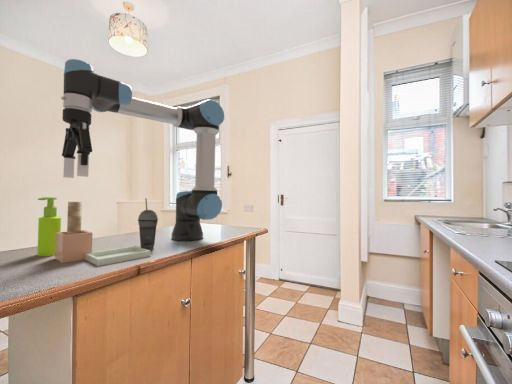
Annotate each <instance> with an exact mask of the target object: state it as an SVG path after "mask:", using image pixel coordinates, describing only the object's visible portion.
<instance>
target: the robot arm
mask: <svg viewBox="0 0 512 384" xmlns="http://www.w3.org/2000/svg"><path fill="white" fill-rule="evenodd" d="M60 99H61V100H62V101H63V102H62V107H63V110H62V118H61V119H62V121H63V122H65V123H66V124H69V127H66V128H65V136H64V140H63V141H64V142H63V147H62V153H61V156H62V157H63V178H71V179H74V178H75V159H76V156H75V153H76V155H77V159H76V160H77V163H76V164H77V166H76V176H77V177H87V178H89V165H90V164H89V163H90V154H91V153H92V152H93V146H92V140H91V134H90V126H91V124H92V114H91V113H92V112H93V111H95V112H97V113H106V112H110V113H116V114H121V115H126V116H131V117H136V118H140V119H145V120H151V121H155V122H156V121H157V122H159V123H164V124H165V123H167V124H171V125H172V126H173V127H175V128H179V129H184V130H189V131H194V133H195V134H196V146H195V147H196V148H195V149H196V150H195V153H196V154H195V181H194V182H195V184H194V187H193V188H192V189H191V190H183V191H179V192H177V193H176V196H175V197H176V198H175V223H174V227H173V229H172V232H171V239H172V240H174V241H182V242H183V241H197V240H198V241H199V240H201V239H203V238H204V232H203V229H202V225H201V221H200V220H202V221H203V220H204V221H205V220H206V221H208V220H210V221H211V220H214V219H216V218H217V217H218V215H220V213H221V211H222V208H223V201H222V199H221V197H220V196H219V195H218V189H217V188H216V186H215V177H216V176H215V172H216V171H215V169H216V137H217V135H218V134H219V133H220V125H222V123H224V120H225V112H224V109H223V107H222V106H221V105H220V103H219V102H217V101H216V100H213V99H205V100H202V101H201V102H198V103H196V104H194V105H192V106H191V105H190V106H188V107H187V106H186V107H185V106H179V105H177V106H175V107H173V106H170V105H166V104H165V105H164V104H161V103H158V102H153V101H149V100H145V99H141V98H137V97H134V96H133V89H132V87H131V86H130V85H129V84H127V83H124V82H122V81H121V80H120V81H119V80H115V79H113V78H109V77H106V76H103V75H99V74H97V73H95V72H94V68H93V66H92V65H91V64H90V63H87V62H86V61H84V60H81V59H77V58H76V59H75V58H71V59H68V60H66V61H65V63H64V72H63V95H62V96H61V97H60Z"/></svg>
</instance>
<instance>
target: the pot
mask: <svg viewBox="0 0 512 384" xmlns="http://www.w3.org/2000/svg"><path fill="white" fill-rule="evenodd" d="M92 252H93V232H91V231H88V230H84V229H81V233H79V234H68V235H67V231H61V232H56V233H55V255H54V259H55V260H56V261H58V262H60V263H61V264H65V263H71V262H77V261H83V260H84V261H85V254H86V253H92Z"/></svg>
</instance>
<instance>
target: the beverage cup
mask: <svg viewBox="0 0 512 384" xmlns="http://www.w3.org/2000/svg"><path fill="white" fill-rule="evenodd" d="M144 200H145V209H144V210H143V211H141V212H140V214H139V215H138V219H137V221H138V226H139V227H138V229H139V241H140V248H144V249H147V250H150V251H153V250H154V247H155V243H156V241H155V240H156V232H157V231H156V230H157V226H158V220H159V218H158V214H157V212H155V211H154V210H152V209H149V208H148V201H147V200H148V199H147V198H145V199H144Z"/></svg>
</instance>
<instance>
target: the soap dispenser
mask: <svg viewBox="0 0 512 384" xmlns="http://www.w3.org/2000/svg"><path fill="white" fill-rule="evenodd" d="M37 200H38V201H45V200H46V201H47V202H46V206H44V207H43V216H41V217H39V218H38V226H37V228H38V231H37V257H50V256H55V233H56V232H62V231H61V230H62V229H61V228H62V217H61V216H57V207H56V206H55V204H54V203H55V200H57V197H53V196H52V197H51V196H50V197H49V196H47V197H46V196H44V197H39V198H37Z"/></svg>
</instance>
